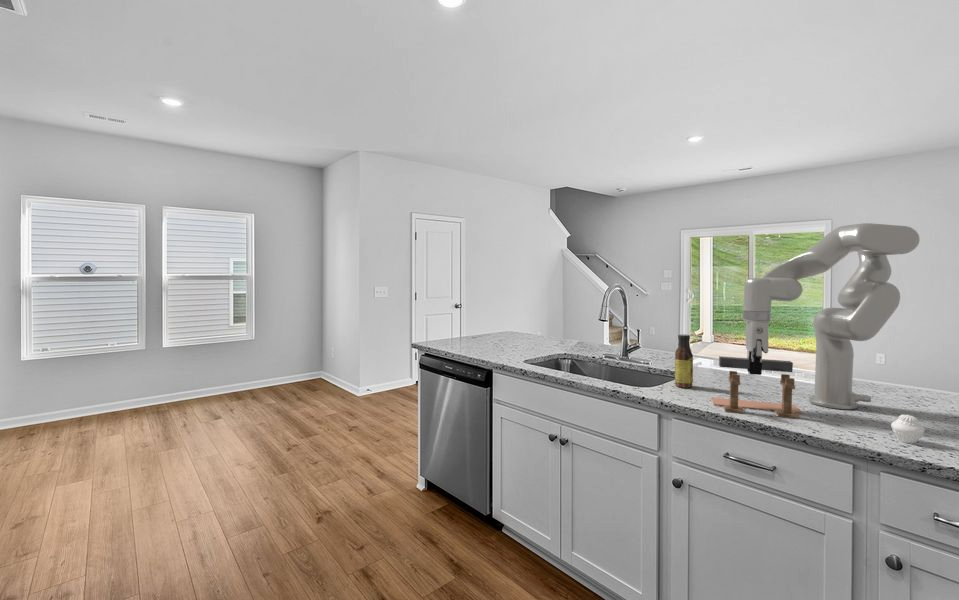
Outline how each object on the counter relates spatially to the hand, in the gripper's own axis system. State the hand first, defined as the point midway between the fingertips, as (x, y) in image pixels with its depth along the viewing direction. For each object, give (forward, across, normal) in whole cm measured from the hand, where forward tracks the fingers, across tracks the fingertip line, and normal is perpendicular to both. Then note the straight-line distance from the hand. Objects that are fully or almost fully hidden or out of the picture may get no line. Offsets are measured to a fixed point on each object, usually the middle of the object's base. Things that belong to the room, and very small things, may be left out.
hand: (754, 372), depth 143 cm
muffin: (+11, -21, -30) cm, 38 cm away
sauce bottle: (+11, +19, +20) cm, 30 cm away
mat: (+11, 0, 0) cm, 11 cm away
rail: (-1, 0, 0) cm, 1 cm away
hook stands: (+11, -8, 0) cm, 13 cm away
